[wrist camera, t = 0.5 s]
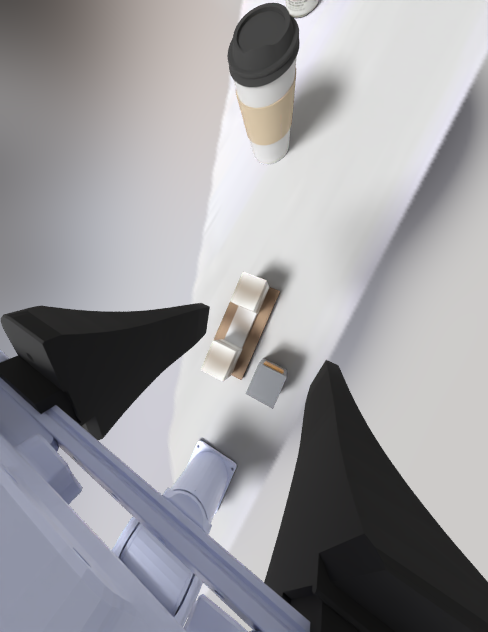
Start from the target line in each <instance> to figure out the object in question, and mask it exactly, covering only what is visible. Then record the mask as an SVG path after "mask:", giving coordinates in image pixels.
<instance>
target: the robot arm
mask: <svg viewBox="0 0 488 632" xmlns="http://www.w3.org/2000/svg"><path fill="white" fill-rule="evenodd" d="M209 308H210V307H209V306H207V305H205V304H202V303H197V304H190V305H184V306H177V307H171V308H163V309H156V310H147V311H131V312H100V311H84V310H71V309H63V308H55V307H47V306H36V307H32V308H27V309H24V310H20V311H16V312H12V313H8V314H4V315H3V316H2V318H1V323H2V326H3V329H4V331H5V333H6V334H7V336H8V338H9V340H10V342H11V343H12V345H13V347H14V349H15V350H16V352H17V354H18V356H16V357H13V358H11V359H9V358H8V357H7V356H6V355H5V353H3V352H2V351H1V350H0V632H248V631H246V629H244V628H243V627H242V626H241V625H240V624H239V623H238V622H237V621H236V620H234V619H233V618H232V617H231V616H230V615H228V614H227V613H226V612H224V611H223V610H222V609H221V608H220V607H218V606H217V605H216V604H215V603H213V602H212V601H211V600H210V599H208V598H207V597H206V596H205V595H204V594H202V595H200V596H199V597H198V600H197V601H196V598H197V596H198V593H199V591H200V588H201V586H202V583H204V584H205V585H206V586H207V587H208V588H210V589H211V590H212V591H213V592H214V593H215V594H216V595H217V596H218V597H219V598H220V599H221V600H222V601H223V602H224V603H225V604H227V605H228V606H229V607H230V608H231V609H232V610H233V611H234V612H235V613H236V614H237V615H238V616H239V617H240V618H241V619H242V620H243V621H244V622H245V623H247V624H248V625H249V626H250V627H251V628H252V629H253V630H252V631H249V632H488V582H487V581H486V579H485V578H484V577H483V576H482V575H481V574H480V573H479V571H478V570H477V569H476V568H475V567H474V566H473V564H472V563H471V562H470V561H469V560H468V559H467V557H466V556H465V555H464V554H463V553H462V552H461V550H460V549H459V548H458V547H457V546H456V545H455V544H454V542H453V541H452V540H451V539H450V538H449V536H448V535H447V534H446V533H445V532H444V530H443V529H442V528H441V527H440V525H439V524H438V523H437V522H436V520H435V519H434V518H433V517H432V515H431V514H430V513H429V512H428V510H427V509H426V508H425V507H424V505H423V504H422V503H421V502H420V500H419V499H418V498H417V496H416V495H415V494H414V493H413V491H412V490H411V489H410V487H409V486H408V485H407V483H406V482H405V481H404V479H403V478H402V476H401V475H400V474H399V472H398V471H397V469H396V468H395V467H394V465H393V464H392V462H391V461H390V460H389V458H388V457H387V455H386V454H385V452H384V451H383V449H382V448H381V446H380V445H379V443H378V441H377V440H376V438H375V437H374V435H373V434H372V432H371V430H370V428H369V427H368V425H367V423H366V421H365V420H364V418H363V416H362V414H361V412H360V411H359V409H358V407H357V405H356V403H355V401H354V399H353V397H352V395H351V393H350V391H349V388H348V386H347V384H346V382H345V379H344V377H343V375H342V373H341V370H340V368H339V366H338V365H336V364H334V363H332V362H330V361H327V360H326V361H325V363H324V364H323V366H322V367H321V369H320V371H319V372H318V374H317V375H316V377H315V379H314V380H313V382H312V384H311V385H310V388H309V392H308V395H307V399H306V403H305V410H304V418H303V427H302V433H301V441H300V448H299V454H298V458H297V462H296V467H295V471H294V475H293V480H292V483H291V487H290V492H289V496H288V499H287V503H286V507H285V511H284V515H283V518H282V522H281V526H280V530H279V533H278V537H277V540H276V544H275V547H274V551H273V555H272V558H271V562H270V565H269V568H268V572H267V575H266V579H265V582H263V581H262V580H260V579H259V578H258V577H257V576H256V575H255V574H253V573H252V572H251V571H250V570H249V569H248V568H246V567H245V566H244V565H243V564H242V563H241V562H239V561H238V560H237V559H236V558H234V557H233V556H232V555H231V554H230V553H229V552H228V551H226V550H225V549H224V548H223V547H222V546H221V545H219V544H218V543H217V542H216V541H215V540H214V539H212V538H211V537H210V536H209V535H208V534H209V532H210V529H211V527H212V525H211V521H212V519H213V516H214V514H216V512H217V510H218V508H219V506H220V503H221V501H222V499H223V496H224V494H225V492H226V490H227V487H228V485H229V483H230V481H231V478H232V476H233V474H234V471H235V469H236V466H237V465H236V463H235V462H233V461H232V460H230V459H229V458H227V457H226V456H224V455H223V454H221V453H220V452H218V451H217V450H215V449H214V448H212V447H211V446H209V445H208V444H206V443H205V442H203V441H202V440H199V441H198V442H197V444H196V447H195V449H194V451H193V454H192V456H191V458H190V460H189V463H188V465H187V467H186V468H185V470H184V471H183V472H182V474H181V475H180V477H179V478H178V479H177V481H176V482H175V483H174V485H173V486H172V487H171V489H170V488H167V489H166V491H165V492H164V493H163V495H161V493H159V492H157V491H156V490H155V489H154V488H153V487H152V486H150V485H149V484H148V483H147V482H146V481H145V480H143V479H142V478H141V477H140V476H139V475H138V474H136V473H135V472H134V471H133V470H132V469H130V468H129V467H128V466H127V465H126V464H125V463H123V462H122V461H121V460H120V459H119V458H118V457H116V456H115V455H114V454H113V453H112V452H111V451H109V450H108V449H107V448H106V447H105V446H104V445H102V444H101V443H100V442H99V441H98V440H100V439H103V438H104V436H105V435H106V434H107V433H108V431H109V430H110V429H111V428H112V427H113V425H114V424H115V423H116V422H117V421H118V419H119V418H120V417H121V416H122V415H123V413H124V412H125V411H126V410H127V409H128V408H129V407H130V406H131V404H132V403H133V402H134V401H135V400H136V399H137V398H138V397H139V395H140V394H141V393H142V392H143V391H144V390H145V389H146V388H147V387H148V386H149V385H150V384H151V383H152V382H153V381H154V380H155V379H156V378H157V377H158V376H159V375H160V374H161V373H162V372H163V371H164V370H165V369H166V368H167V367H169V366H170V365H171V364H172V363H173V362H175V361H176V360H177V359H178V358H180V357H181V356H182V355H183V354H185V353H186V352H187V351H188V350H189V349H191V348H192V347H193V346H194V345H195V344H196V343H197V342H198V341H199V340H200V339H201V338H202V337H203V336H204V335H205V334H206V329H207V322H208V315H209ZM198 445H199V446H200V447H199V446H198ZM59 447H60V448H61V449H63V450H64V451H65V452H66V453H67V454H68V455H69V456H70V457H71V458H72V459H73V460H74V461H75V462H76V463H77V464H78V465H80V466H81V467H82V468H83V469H84V470H85V471H86V472H87V473H88V474H89V475H90V476H91V477H92V478H93V479H94V480H95V481H96V482H97V483H99V484H100V485H101V486H102V487H103V488H104V489H105V490H106V491H107V492H108V493H109V494H110V495H111V496H112V497H113V498H114V499H115V500H117V501H118V502H119V503H120V504H121V505H122V506H123V507H124V508H125V509H126V510H127V511H128V512H129V513H130V514H131V515H132V516H133V517H132V518H131V519H130V521H129V522H128V524H127V526H126V527H125V529H124V530H123V532H122V533H121V535H120V537H119V539H118V540H117V542H116V544H115V546H114V547H113V549H112V550H110V548H109V547H108V546H107V545H106V544H105V543H104V542H103V541H102V540H101V539H100V538H99V537H98V536H97V535H96V533H95V532H94V531H92V529H91V528H90V527H89V526H88V525H87V524H86V523H85V522H84V521H83V520H82V519H81V517H80V516H79V515H78V514H77V513H76V512H75V511H74V510H73V509H72V508H71V507H70V506H69V504H70V503H71V501H72V500H73V499H74V498H75V497H76V496H77V495H78V494H79V493H80V492H81V491H82V486H81V485H80V483H79V482H78V481H77V479H76V478H75V477H74V475H73V474H72V472H71V471H70V469H69V467H68V464H67V463H66V462H65V461H64V460H63V458H62V457H61V456H60V455H59V454H58V453H57V451H58V448H59ZM232 468H233V469H232ZM187 618H188V619H187ZM186 620H187V622H186ZM185 622H186V624H185V626H184V623H185ZM183 626H184V628H183Z"/></svg>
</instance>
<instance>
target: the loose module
mask: <svg viewBox="0 0 488 632" xmlns="http://www.w3.org/2000/svg"><path fill="white" fill-rule="evenodd" d="M286 378H287V369H285V368H283V367H281V366H278V365H276V364H274V363H272V362H270V361H268V360H266V359H264V358H263V359H262V360H261V362H260V363H259V364H258V367H257V369H256V371H255V374H254V376H253V378H252V381H251V383H250V385H249V387H248V390H247V392H246V394H247V395H249V396H251V397H252V398H254V399H256V400H258V401H260V402H262V403H263V404H265V405H267V406H269V407H271V408H272V409H273V408H274V405H275V403H276V401H277V398H278V396H279V394H280V392H281V389H282V387H283V385H284V382H285V380H286Z"/></svg>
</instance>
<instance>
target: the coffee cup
mask: <svg viewBox="0 0 488 632" xmlns="http://www.w3.org/2000/svg"><path fill="white" fill-rule="evenodd" d="M298 50H299V28H298V24H297V22H296V20H295V19H294V18H293V17H292V16H291V15H290V14H289V11H288V10H287V8H286V7H285V6H283V5H281V4H278V3H267V4H263V5H260V6H258V7H256V8H254V9H252V10H251V11H250V12H248V13H247V14H246V15H245V16H244V17H243V18H242V19H241V20H240V22H239V23H238V25H237V26H236V29H235V31H234V35H233V39H232V41H231V43H230V46H229V50H228V62H229V70H230V74H231V76H232V78H233V79H234V83H235V87H236V95H237V99H238V102H239V106H240V110H241V113H242V117H243V121H244V124H245V128H246V132H247V135H248V138H249V139H250V143H251V147H252V151H253V154H254V157H255V159H256V160H257V161H258V162H259V163H261V164H266V165H269V164H274V163H276V162H278V161H280V160H281V159H282V158H283V157H284V156H285V155H286V153H287V151H288V148H289V139H290V127H291V124H292V114H293V103H294V92H295V81H296V56H297V54H298Z"/></svg>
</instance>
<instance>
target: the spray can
mask: <svg viewBox="0 0 488 632" xmlns="http://www.w3.org/2000/svg"><path fill="white" fill-rule="evenodd" d="M318 2H319V0H286V8H287V10H288V11H289V14H290V15H291V16H292V17H295V18H298V17H303V16H305V15H307V14H308V13H310V12H311V11H312V10H313V9H314V8H315V7H316V6H317V4H318Z"/></svg>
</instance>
